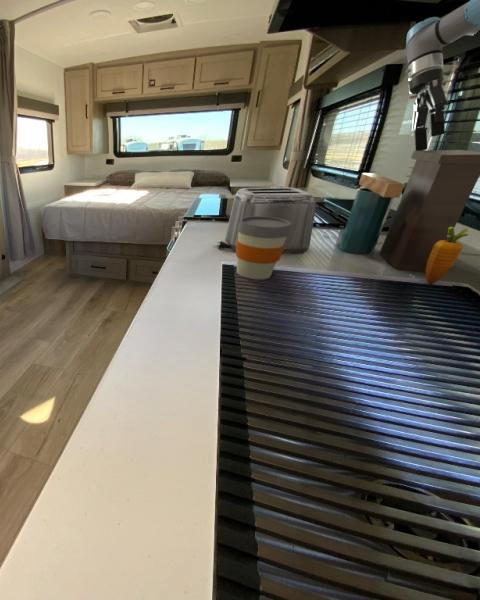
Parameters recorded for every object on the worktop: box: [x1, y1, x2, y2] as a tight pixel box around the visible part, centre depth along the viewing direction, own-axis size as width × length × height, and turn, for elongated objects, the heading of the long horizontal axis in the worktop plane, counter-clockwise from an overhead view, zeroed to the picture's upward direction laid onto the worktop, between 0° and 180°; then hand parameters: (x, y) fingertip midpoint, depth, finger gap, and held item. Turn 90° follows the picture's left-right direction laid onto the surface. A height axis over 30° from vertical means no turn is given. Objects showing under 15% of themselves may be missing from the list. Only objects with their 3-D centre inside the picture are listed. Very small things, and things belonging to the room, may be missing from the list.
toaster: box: [216, 187, 320, 255], centre depth 110 cm, size 17×30×19 cm, turn 81°
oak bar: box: [358, 172, 406, 199], centre depth 99 cm, size 24×4×4 cm, turn 156°
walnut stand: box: [379, 149, 480, 273], centre depth 91 cm, size 16×10×30 cm, turn 156°
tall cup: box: [338, 187, 395, 256], centre depth 104 cm, size 9×9×19 cm
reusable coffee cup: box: [235, 216, 291, 280], centre depth 92 cm, size 13×13×15 cm
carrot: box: [425, 227, 469, 285], centre depth 81 cm, size 5×5×15 cm
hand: (429, 143), depth 104 cm, fingers open, 13 cm apart
